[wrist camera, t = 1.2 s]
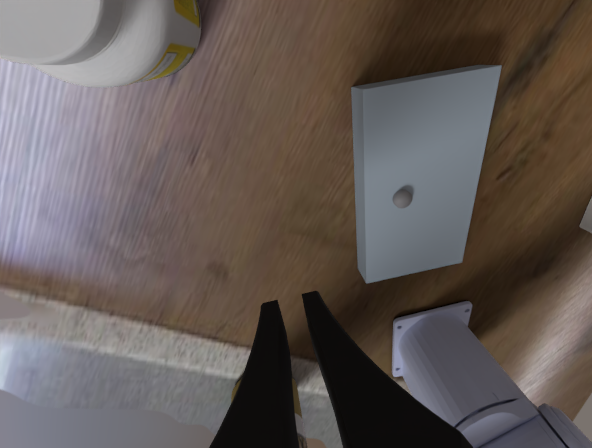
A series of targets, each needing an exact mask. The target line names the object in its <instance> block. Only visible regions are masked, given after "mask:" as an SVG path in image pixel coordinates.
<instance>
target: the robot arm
mask: <svg viewBox="0 0 592 448" xmlns="http://www.w3.org/2000/svg"><path fill="white" fill-rule="evenodd" d="M302 298H303V303H304V308H305V313H306V318H307V322H308V327H309V332H310V336H311V340H312V344H313V349H314V352H315V355H316V358H317V361H318V364H319V367H320V370H321V373H322V376H323V379H324V382H325V385H326V388H327V391H328V394H329V397H330V400H331V403H332V406H333V410H334V413H335V416H336V420H337V424H338V429H339V433H340V437H341V441H342V445H343V448H592V442H591V441H590V440H589V439H588V438H587V437H586V436H585V435H584V434H583V433H582V432H581V431H580V430H579V429H578V427H577V426H576V425H575V424H574V423H573V422H572V421H571V420H570V419H569V418H568V417H567V416H566V415H565V414H564V413H563V412H562V411H561V410H560V409H559V408H556V407H553V406H549V405H547V404H545V403H544V404H542V405H540V406H539V407H537V406H535V405H534V404H533V403H532V402H531V401H529V399H528V398H527V397H526V396H525V395H524V393H523V392H522V391H521V390H520V389H519V387H518V386H517V385H516V384H515V383H514V381H513V380H512V379H511V378H510V377H509V376H508V374H507V373H506V372H505V371H504V370H503V368H502V367H501V366H500V365H499V364H498V362H497V361H496V360H495V359H494V358H493V356H492V355H491V354H490V353H489V352H488V351H487V349H486V348H485V347H484V346H483V345H482V343H481V342H480V341H479V340H478V339H477V337H476V336H475V335H474V334H473V333H472V331H471V330H470V329H469V328H468V323H469V318H470V314H471V310H472V304H471V302H470V301H465V302H460V303H456V304H452V305H448V306H444V307H440V308H436V309H432V310H428V311H423V312H419V313H415V314H411V315H407V316H403V317H399V318H396V319H395V320H394V322H393V350H392V374H393V376H394V377H398V376H403V378H404V380H405V382H406V384H407V386H408V388H409V390H410V392H411V394H412V396H411V395H410V394H409V393H408V392H407V391H405V390H404V389H403V388H402V387H401V386H399V385H398V384H397V383H396V382H395V381H393V380H392V379H391V378H390V377H389V376H388V375H387V374H386V373H384V372H383V371H382V370H381V369H380V368H379V367H378V366H377V365H376V364H375V363H374V362H373V361H372V360H371V359H370V358H369V357H368V356H367V355H366V354H365V353H364V352H363V351H362V350H361V349H360V348H359V347H358V346H357V344H356V343H355V342H354V341H353V340H352V339H351V338H350V336H349V335H348V334H347V333H346V332H345V330H344V329H343V328H342V327H341V325H340V324H339V323H338V322H337V320H336V319H335V318H334V316H333V315H332V313H331V312H330V311H329V309H328V308H327V306H326V305H325V303H324V301H323V300H322V298H321V296H320V294H319V292H317V291H313V292H309V293H304V294H302ZM209 448H300V447H299V441H298V434H297V428H296V420H295V410H294V397H293V384H292V371H291V359H290V352H289V346H288V340H287V334H286V330H285V326H284V322H283V319H282V315H281V311H280V308H279V304H278V300H274V301H270V302H266V303H263V304H262V305H261V311H260V317H259V322H258V327H257V331H256V335H255V339H254V342H253V346H252V350H251V353H250V356H249V359H248V362H247V365H246V368H245V371H244V374H243V376H242V379H241V382H240V384H239V387H238V389H237V391H236V394H235V396H234V399H233V401H232V403H231V405H230V407H229V410H228V412H227V414H226V416H225V418H224V420H223V422H222V424H221V426H220V428H219V430H218V432H217V434H216V436H215V438H214V440H213V442H212V443H211V445H210V447H209Z"/></svg>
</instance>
